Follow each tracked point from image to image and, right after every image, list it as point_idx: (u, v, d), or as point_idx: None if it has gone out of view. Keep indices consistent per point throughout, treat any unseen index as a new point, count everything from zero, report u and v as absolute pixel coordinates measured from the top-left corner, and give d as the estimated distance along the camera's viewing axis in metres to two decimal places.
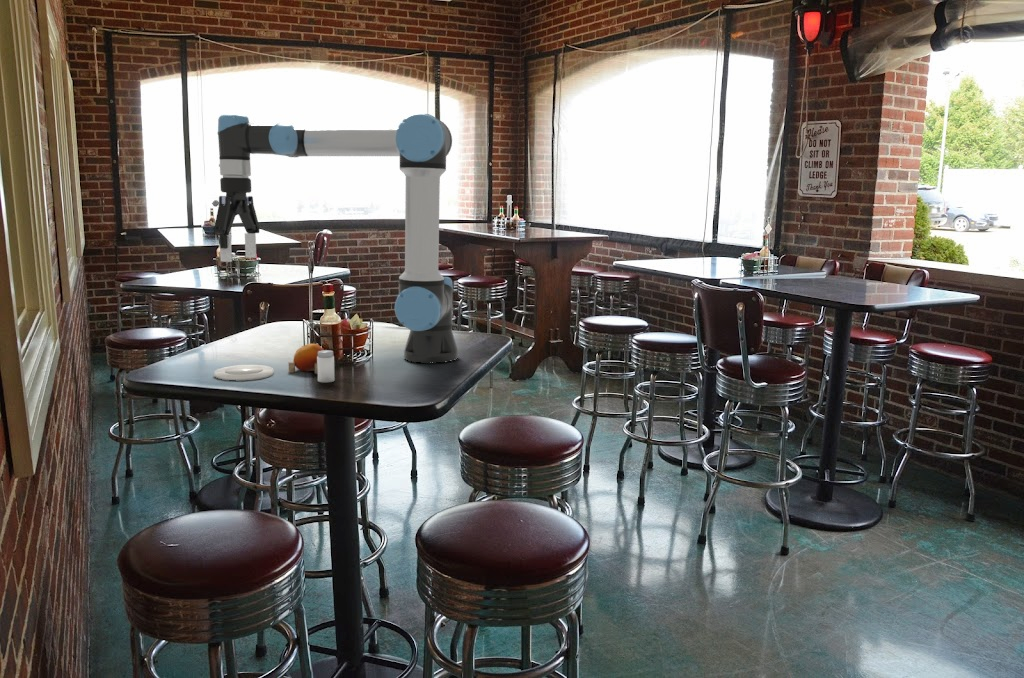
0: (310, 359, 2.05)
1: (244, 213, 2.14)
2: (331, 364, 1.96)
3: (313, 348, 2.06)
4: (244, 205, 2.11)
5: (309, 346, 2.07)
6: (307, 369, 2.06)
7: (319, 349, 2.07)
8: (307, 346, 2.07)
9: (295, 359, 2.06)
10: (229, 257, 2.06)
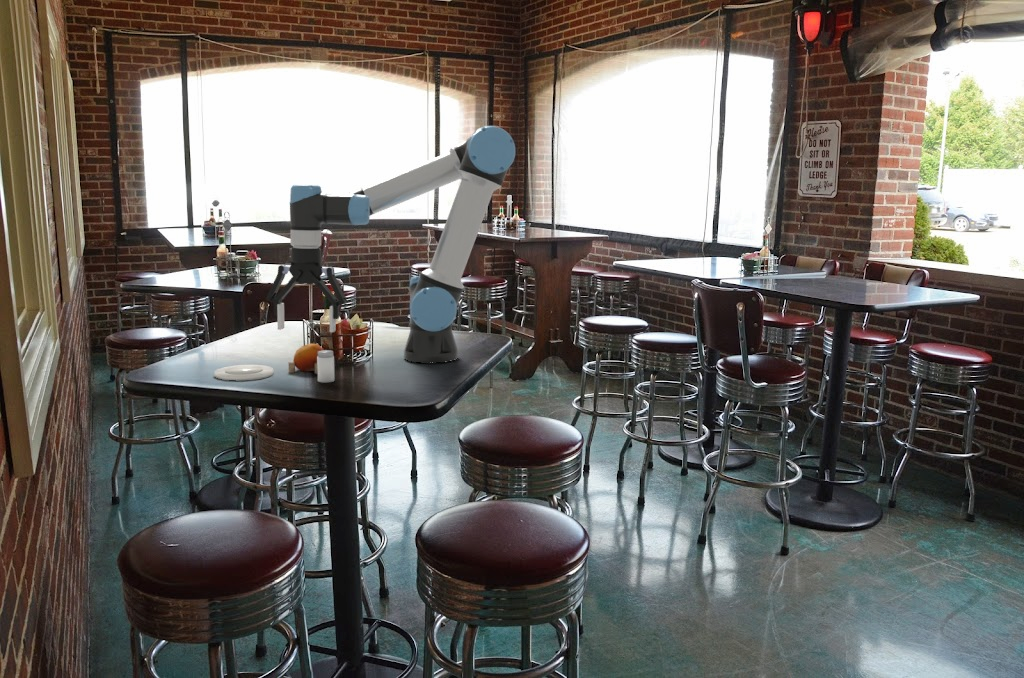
0: (310, 359, 2.05)
1: None
2: (331, 364, 1.96)
3: (313, 348, 2.06)
4: None
5: (309, 346, 2.07)
6: (307, 369, 2.06)
7: (319, 349, 2.07)
8: (307, 346, 2.07)
9: (295, 359, 2.06)
10: None
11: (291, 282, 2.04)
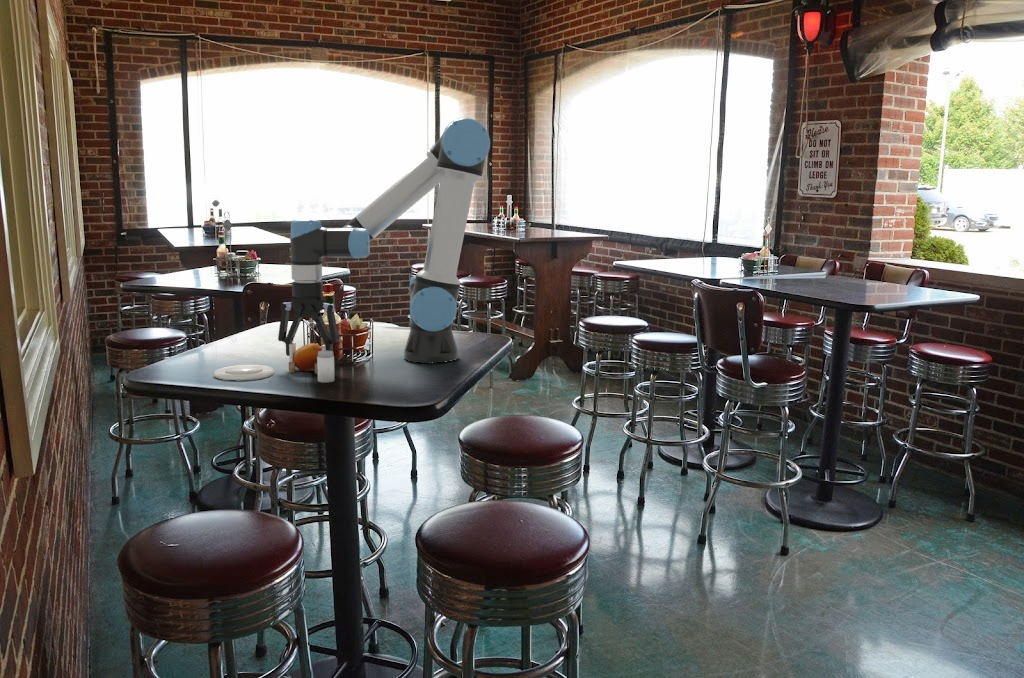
0: (310, 359, 2.05)
1: None
2: (331, 364, 1.96)
3: (313, 348, 2.06)
4: None
5: (309, 346, 2.07)
6: (307, 369, 2.06)
7: (319, 349, 2.07)
8: (307, 346, 2.07)
9: (295, 358, 2.06)
10: None
11: (296, 318, 2.06)
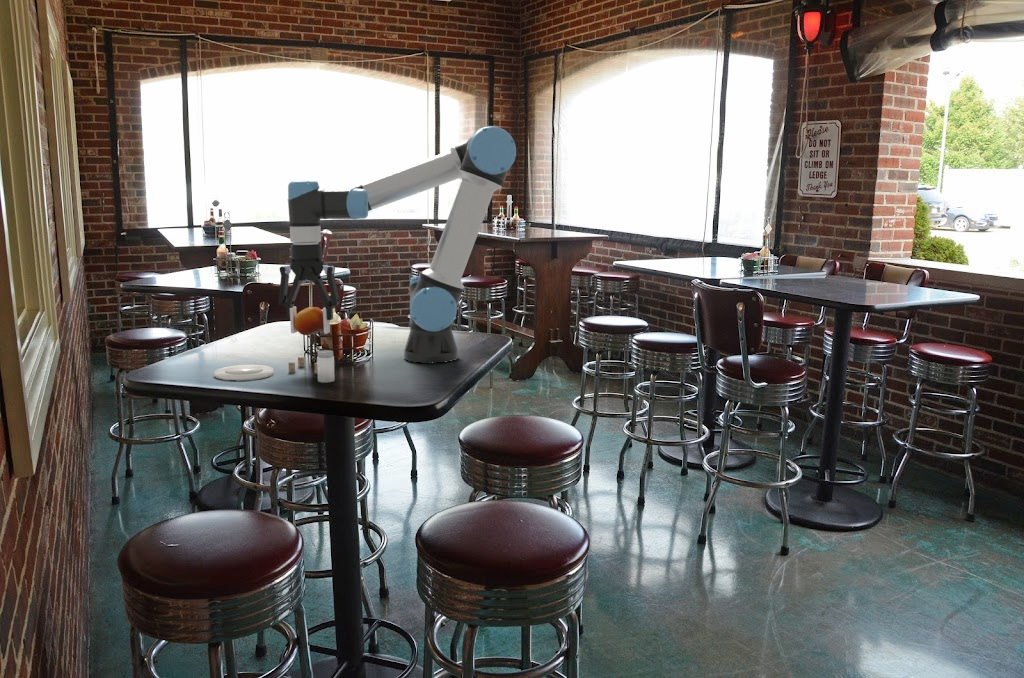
0: (311, 322, 2.04)
1: None
2: (331, 364, 1.96)
3: (313, 311, 2.04)
4: None
5: (309, 309, 2.05)
6: (308, 332, 2.05)
7: (320, 312, 2.06)
8: (307, 309, 2.05)
9: (296, 322, 2.04)
10: None
11: (296, 281, 2.04)
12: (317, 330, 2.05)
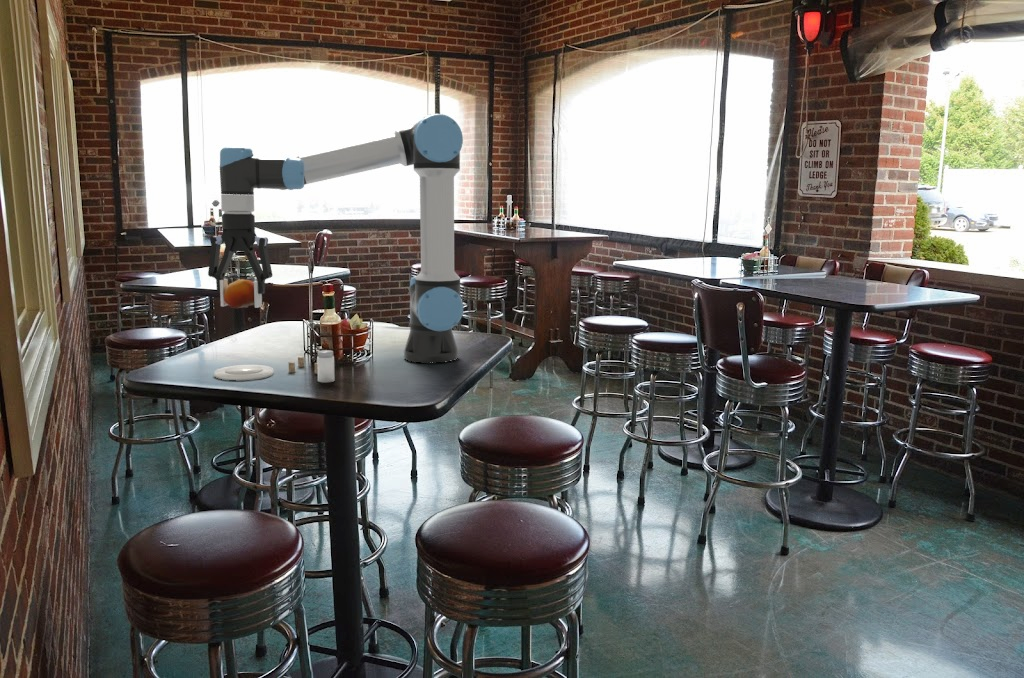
0: (240, 294, 1.96)
1: None
2: (331, 364, 1.96)
3: (244, 283, 1.97)
4: None
5: (240, 281, 1.97)
6: (238, 305, 1.97)
7: (251, 285, 1.98)
8: (238, 281, 1.97)
9: (225, 294, 1.97)
10: None
11: (226, 252, 1.96)
12: (247, 303, 1.97)
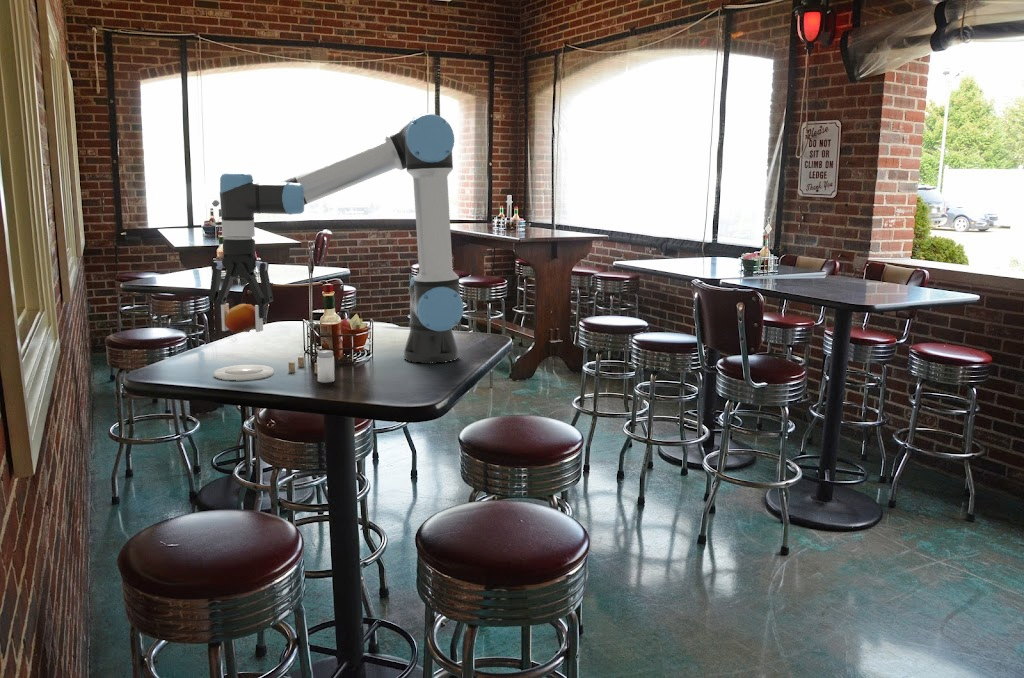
0: (241, 319, 1.97)
1: None
2: (331, 364, 1.96)
3: (245, 308, 1.98)
4: None
5: (241, 306, 1.98)
6: (239, 330, 1.98)
7: (252, 309, 1.99)
8: (239, 306, 1.98)
9: (227, 319, 1.98)
10: None
11: (227, 277, 1.97)
12: (248, 328, 1.98)
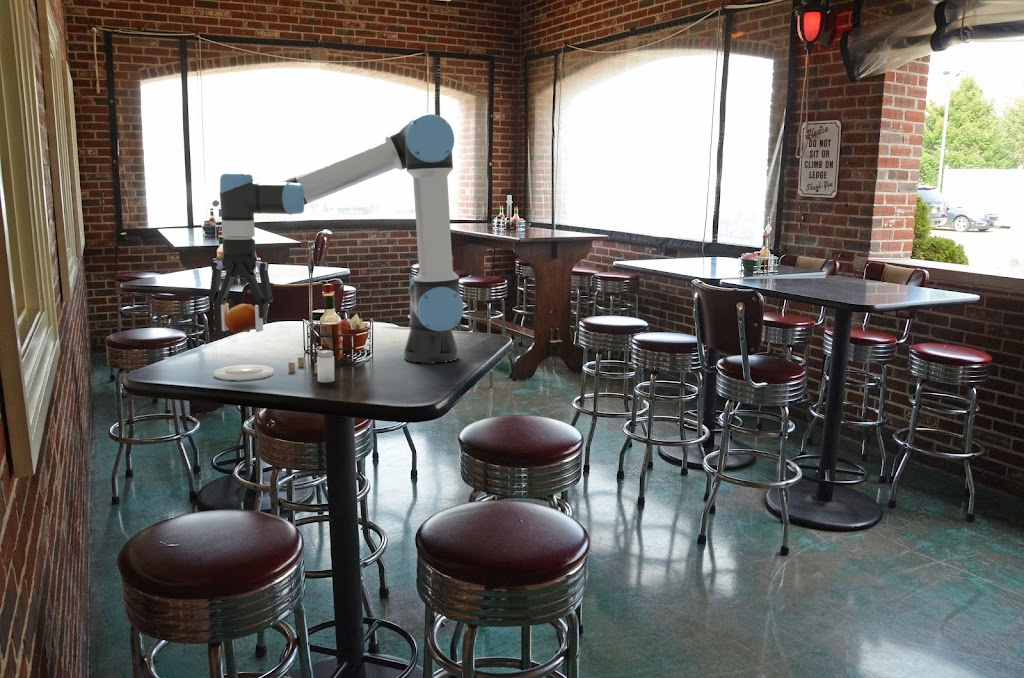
0: (241, 319, 1.97)
1: None
2: (331, 364, 1.96)
3: (245, 308, 1.98)
4: None
5: (241, 306, 1.98)
6: (239, 330, 1.98)
7: (252, 309, 1.99)
8: (239, 306, 1.98)
9: (227, 319, 1.98)
10: None
11: (227, 277, 1.97)
12: (248, 328, 1.98)
